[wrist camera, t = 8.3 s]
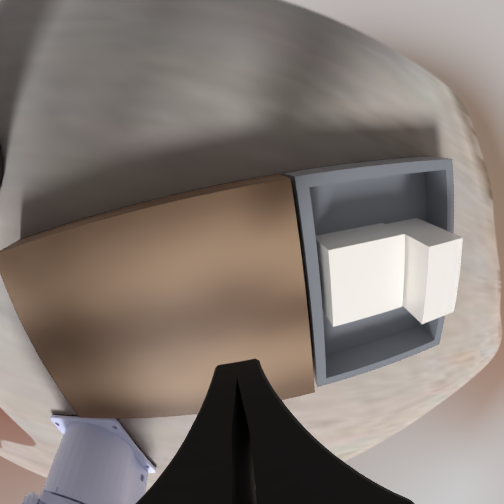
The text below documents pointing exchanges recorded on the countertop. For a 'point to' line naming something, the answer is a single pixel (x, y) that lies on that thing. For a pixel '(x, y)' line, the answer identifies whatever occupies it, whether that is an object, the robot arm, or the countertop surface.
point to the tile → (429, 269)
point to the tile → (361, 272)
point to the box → (359, 215)
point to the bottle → (0, 164)
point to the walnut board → (167, 298)
